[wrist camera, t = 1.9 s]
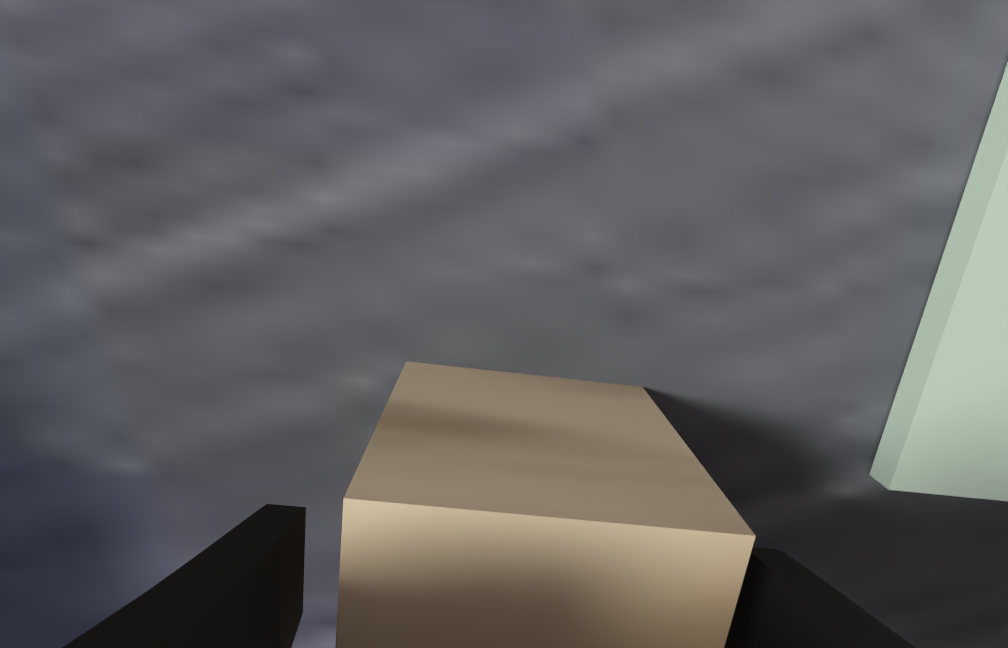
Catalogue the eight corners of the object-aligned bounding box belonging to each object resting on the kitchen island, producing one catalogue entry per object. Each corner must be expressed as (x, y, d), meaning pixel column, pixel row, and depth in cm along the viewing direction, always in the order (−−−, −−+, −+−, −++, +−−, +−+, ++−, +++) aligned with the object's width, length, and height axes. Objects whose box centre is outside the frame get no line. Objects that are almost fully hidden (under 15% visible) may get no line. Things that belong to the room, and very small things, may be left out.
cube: (601, 581, 13) (671, 829, 8) (390, 563, 12) (327, 809, 7) (641, 385, 11) (755, 536, 6) (406, 360, 11) (343, 497, 6)
